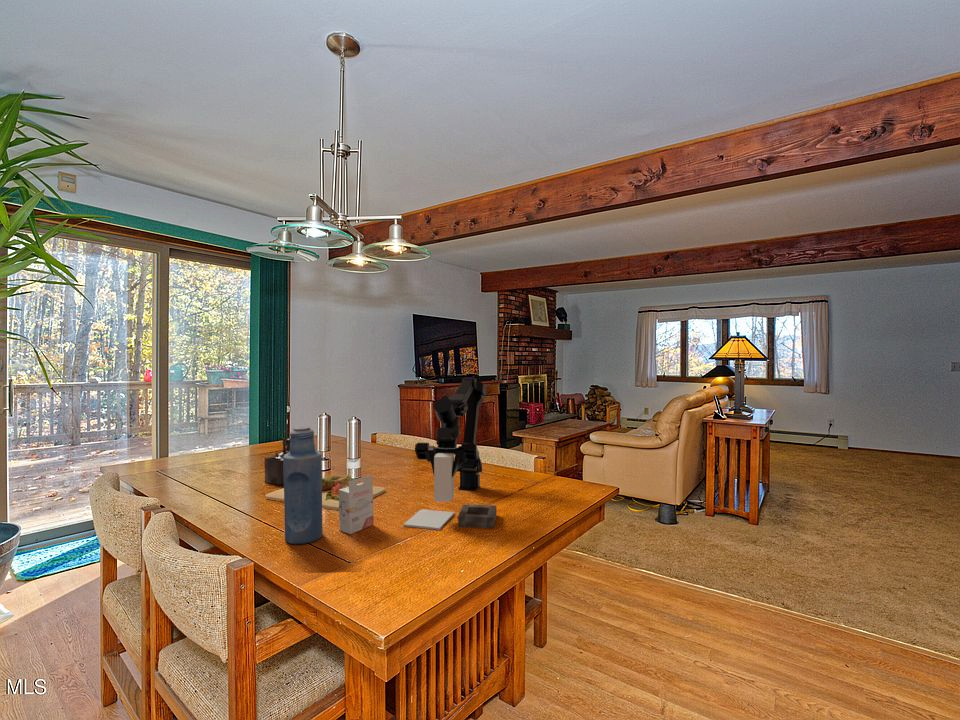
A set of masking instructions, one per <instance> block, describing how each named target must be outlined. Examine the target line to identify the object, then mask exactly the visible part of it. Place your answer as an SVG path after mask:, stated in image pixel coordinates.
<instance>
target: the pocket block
mask: <svg viewBox="0 0 960 720" xmlns="http://www.w3.org/2000/svg"><path fill="white" fill-rule="evenodd" d="M496 519H497V505H489V504H488V505H487V504H463V505H462V507H461V509H460V511H459V514H458V515H457V526H458V528H479V529H480V528H481V529H482V528H483V529H494V528H495V523H496Z"/></svg>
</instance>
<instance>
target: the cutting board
mask: <svg viewBox="0 0 960 720" xmlns="http://www.w3.org/2000/svg"><path fill="white" fill-rule="evenodd" d="M351 480H355V478H352V476H350V475H348V474H346V475H344V476H342V475H336V474H335V475H332V476H331V477H329V478H325V477H322V509H326V510H332V511H338V512H339V489H343V488H346V487H349V485H348V482H349V481H351ZM357 484H358V483H357ZM357 484H356V485H357ZM372 486H373V499H375V498H376V497H378V496H380V495H382V494H384V493H386V488H385V487H383V486H377V485H376V486H375V485H372ZM266 498H267V499H270V500H269V501H273V500H276V501H275V502H280V501H283V502H282V503H284V487H283V488H279V489H277V490H274V491H272V492H269V493H266V494H265V499H266ZM267 499H266V500H267Z"/></svg>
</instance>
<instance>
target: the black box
mask: <svg viewBox="0 0 960 720" xmlns="http://www.w3.org/2000/svg"><path fill="white" fill-rule="evenodd" d="M290 443H291V437H287V438H286V437H285V438H282V451H279V452H276V453H275V454H274V455H273V456H268V457H267V456H266V457H264V483H267V484H272V485H278V486H279V485H280V486H284V476H283V456H284V455H285V454H287V453H290Z"/></svg>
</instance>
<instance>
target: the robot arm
mask: <svg viewBox="0 0 960 720" xmlns="http://www.w3.org/2000/svg"><path fill="white" fill-rule="evenodd" d="M486 395H487V386H486V385H485V383H484V382H481V381H479V380H477V378H475V377H464V378H461V382H460V384H459V386H458V388H456V391H454V394H452V395H450V396H449V395H442V396H441V398H439V399H437V400H436V401H435V402H434V403H433V405H432V406H433V410H434V412H435V416H436V418H437V419H438V422H440V423H441V424H440V427H436V432H435V433H436V435H435V439H436V445H437V446H434V445H430V443H429V442H417V443H416V444H415V446H414V452H415V455H416V458H417V459H418V460H421V461H422V460H425V461H426V462H428V463H430V465H431V470H432V473H433V475H432V476H434V456H435V455H436V454H437V453H454V464H453V468H452V477H454V478H455V475H456V473H457V472H459V486H458V490H467V491H476V490H477V489H478V488H479V487H480V485H481V476H480V474H479V473H482V472H483V463H482V460H481V457H480V452H479V450H478V445H477V444H476V443H477V442H476V441H477V434H478V433H477V431H478V422H479V414H480V413H479V411H480V407H481V406H482V404H483V403H484V401H485V396H486ZM464 416H465V423H464V431H463V440H462V443H461V445H459V446H457V445H458V439H459V438H460V437H461V435H460V434H461V427H460V418H461V417H464ZM459 417H460V418H459Z"/></svg>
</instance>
